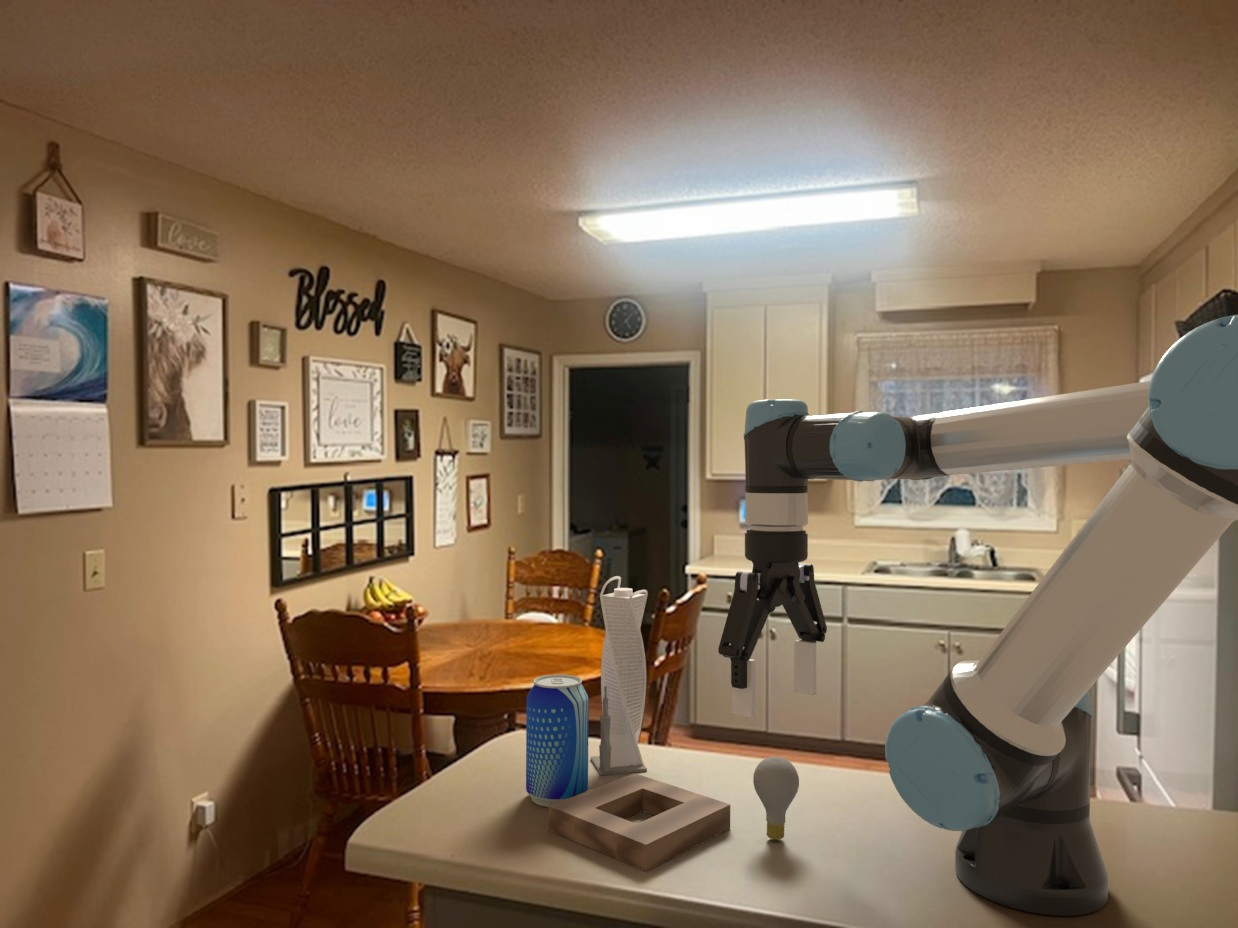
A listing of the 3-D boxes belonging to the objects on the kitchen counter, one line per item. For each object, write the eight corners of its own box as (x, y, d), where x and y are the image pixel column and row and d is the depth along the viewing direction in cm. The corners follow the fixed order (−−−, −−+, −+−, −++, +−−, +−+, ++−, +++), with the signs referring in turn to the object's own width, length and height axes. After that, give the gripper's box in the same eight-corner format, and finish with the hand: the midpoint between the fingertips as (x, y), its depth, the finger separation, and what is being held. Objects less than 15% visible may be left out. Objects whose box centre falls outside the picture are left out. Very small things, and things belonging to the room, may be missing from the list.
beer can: (599, 794, 121) (600, 677, 121) (563, 814, 114) (564, 691, 114) (550, 782, 126) (551, 669, 126) (513, 800, 119) (513, 682, 119)
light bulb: (798, 851, 104) (799, 766, 103) (751, 847, 105) (752, 763, 105) (798, 832, 109) (799, 751, 109) (754, 828, 110) (754, 748, 110)
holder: (730, 828, 110) (730, 804, 110) (645, 871, 98) (646, 844, 98) (634, 794, 121) (634, 772, 121) (548, 829, 109) (548, 805, 109)
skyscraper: (588, 756, 137) (589, 575, 137) (639, 752, 139) (640, 574, 139) (600, 775, 129) (601, 583, 129) (654, 770, 130) (655, 581, 130)
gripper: (802, 522, 118) (802, 680, 118) (687, 531, 100) (687, 718, 100) (854, 524, 113) (853, 689, 113) (742, 535, 95) (742, 732, 95)
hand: (775, 703), depth 107 cm, fingers open, 13 cm apart
